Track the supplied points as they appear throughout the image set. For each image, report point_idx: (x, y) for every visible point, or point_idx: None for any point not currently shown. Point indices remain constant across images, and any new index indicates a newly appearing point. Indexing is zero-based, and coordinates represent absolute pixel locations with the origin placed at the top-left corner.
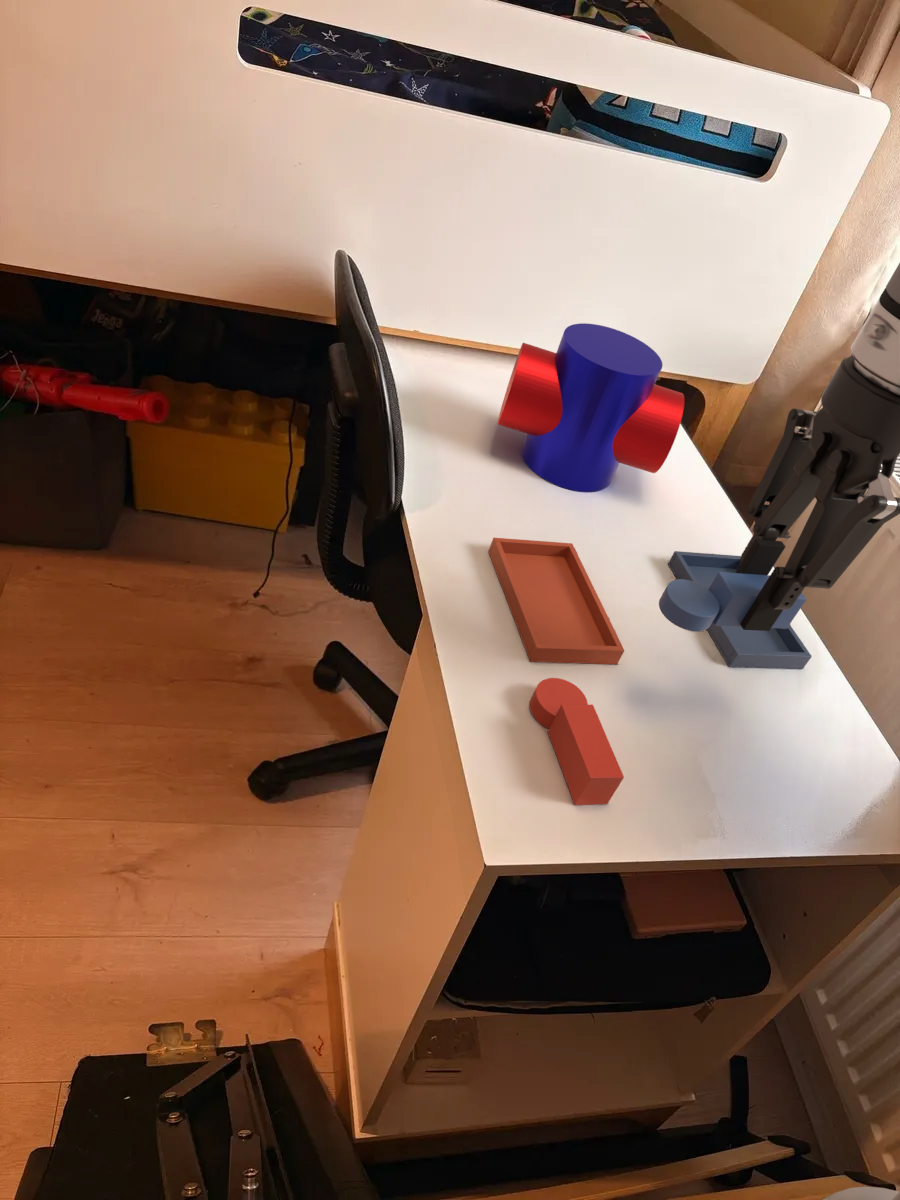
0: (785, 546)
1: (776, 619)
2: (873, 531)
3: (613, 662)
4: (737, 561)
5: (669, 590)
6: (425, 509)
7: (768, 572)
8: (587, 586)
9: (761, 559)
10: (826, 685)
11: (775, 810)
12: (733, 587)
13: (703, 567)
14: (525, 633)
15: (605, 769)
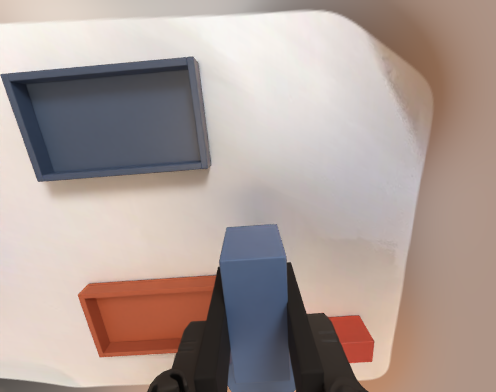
0: (214, 377)
1: (294, 276)
2: None
3: None
4: (14, 84)
5: None
6: (71, 377)
7: (224, 312)
8: (140, 294)
9: (225, 367)
10: (221, 38)
11: (379, 190)
12: (271, 374)
13: (43, 134)
14: None
15: (366, 351)
